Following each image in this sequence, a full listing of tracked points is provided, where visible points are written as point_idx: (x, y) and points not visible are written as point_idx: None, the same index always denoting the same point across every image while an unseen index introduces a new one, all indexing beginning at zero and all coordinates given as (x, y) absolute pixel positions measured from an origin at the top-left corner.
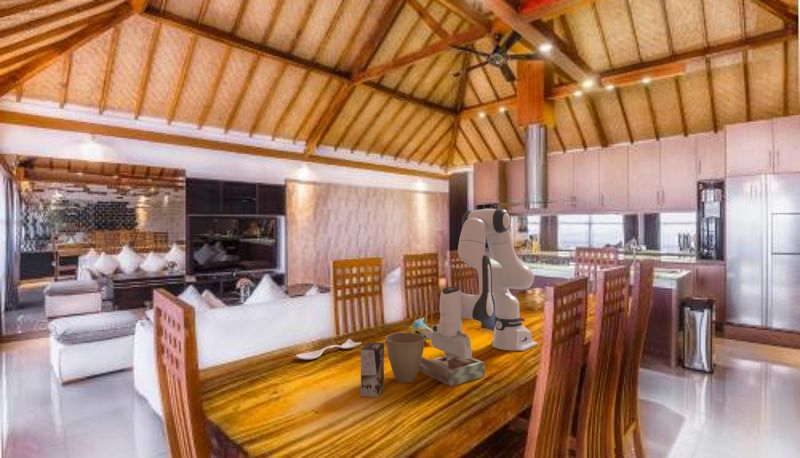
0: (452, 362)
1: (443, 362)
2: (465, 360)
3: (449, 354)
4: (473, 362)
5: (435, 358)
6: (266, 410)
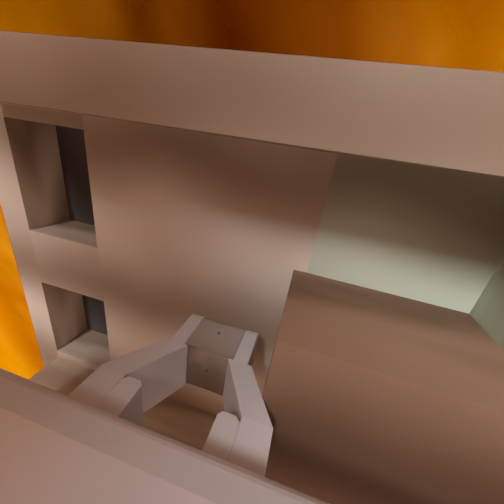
0: None
1: (110, 256)
2: (446, 425)
3: (141, 408)
4: (459, 170)
5: (9, 219)
6: None
